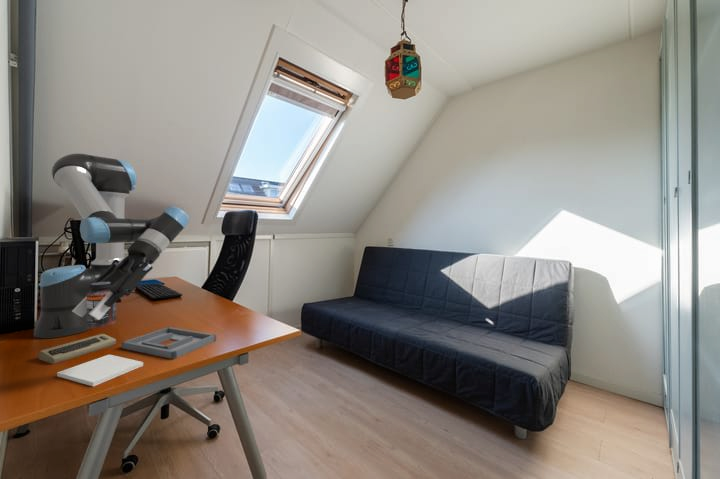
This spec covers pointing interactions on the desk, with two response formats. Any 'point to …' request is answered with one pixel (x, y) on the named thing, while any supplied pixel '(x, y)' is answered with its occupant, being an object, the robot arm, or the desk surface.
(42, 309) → the robot arm
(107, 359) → the white mat
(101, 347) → the computer
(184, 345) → the grey rectangular frame tray
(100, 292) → the supplement bottle
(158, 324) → the desk surface
